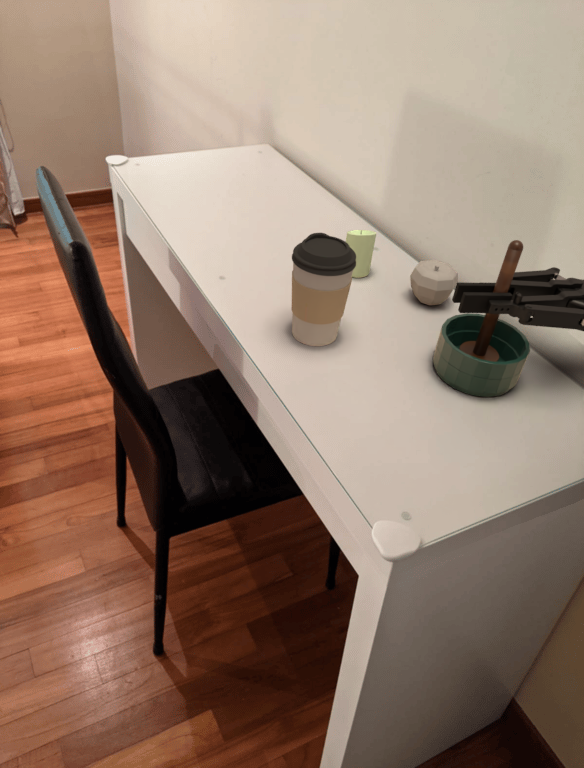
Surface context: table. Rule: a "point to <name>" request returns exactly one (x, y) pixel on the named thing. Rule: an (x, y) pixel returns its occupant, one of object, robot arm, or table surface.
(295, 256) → the coffee cup
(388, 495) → the table surface
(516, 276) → the robot arm
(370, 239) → the candle
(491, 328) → the paper towel holder
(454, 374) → the bowl
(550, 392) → the table surface
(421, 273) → the beige faceted lump
